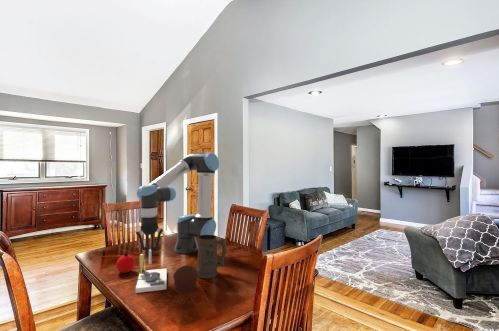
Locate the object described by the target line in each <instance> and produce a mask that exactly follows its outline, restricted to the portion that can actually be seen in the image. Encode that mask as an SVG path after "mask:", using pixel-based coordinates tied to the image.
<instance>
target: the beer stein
mask: <svg viewBox="0 0 499 331" xmlns="http://www.w3.org/2000/svg"><path fill="white" fill-rule="evenodd" d="M197 244H198V250H197V264H196V265H197V266H196V271H197V272H198V277H197V278H200V279H211V278H212V279H213V278H215V277H217V275H218V268H219V267H222V268H224V266H225V263H224V260H225V257H226V254H227V250H228V249H227V245H226V239H225V238H221V239H218V236H217V235H214V234H213V235H201V236H199V237H197ZM218 245H220V246H222V247H221V248H222V251H221V257H220V260H219V261H218Z"/></svg>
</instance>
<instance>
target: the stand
mask: <svg viewBox="0 0 499 331" xmlns="http://www.w3.org/2000/svg"><path fill="white" fill-rule="evenodd" d="M145 271H147V272H149V273H151V272H158V273H160V279H158V280H156V281H152V282H147V281H145V280H144V276H145V275H144V274H140V273H139V274H138V278H137V282H136V285H135V294H138V293H146V292H154V291H155V292H157V291H163V290H167V280H168V279H167V268H158V269H157V268H156V269H149V270H146V269H145Z"/></svg>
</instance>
